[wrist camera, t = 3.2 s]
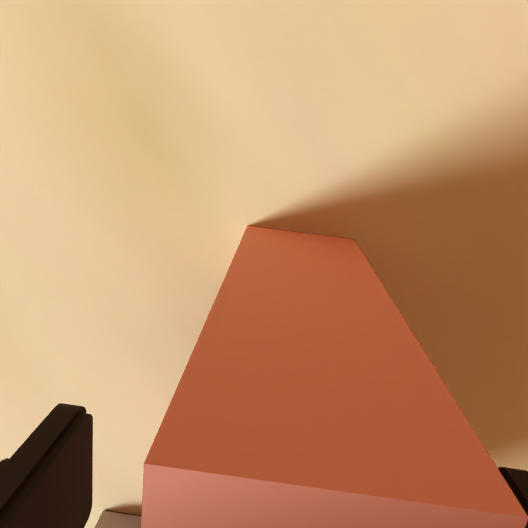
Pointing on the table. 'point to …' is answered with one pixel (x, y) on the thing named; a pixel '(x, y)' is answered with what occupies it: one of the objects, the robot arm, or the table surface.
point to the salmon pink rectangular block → (315, 408)
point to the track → (118, 520)
